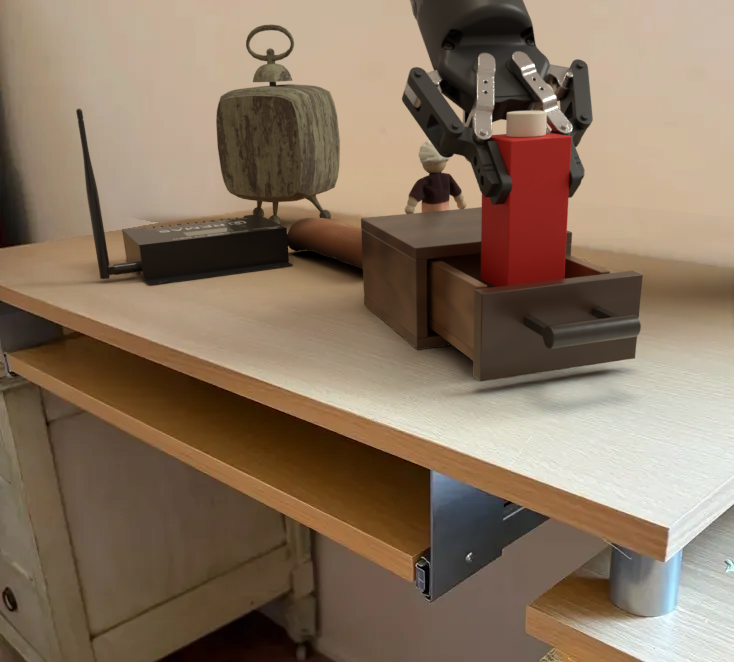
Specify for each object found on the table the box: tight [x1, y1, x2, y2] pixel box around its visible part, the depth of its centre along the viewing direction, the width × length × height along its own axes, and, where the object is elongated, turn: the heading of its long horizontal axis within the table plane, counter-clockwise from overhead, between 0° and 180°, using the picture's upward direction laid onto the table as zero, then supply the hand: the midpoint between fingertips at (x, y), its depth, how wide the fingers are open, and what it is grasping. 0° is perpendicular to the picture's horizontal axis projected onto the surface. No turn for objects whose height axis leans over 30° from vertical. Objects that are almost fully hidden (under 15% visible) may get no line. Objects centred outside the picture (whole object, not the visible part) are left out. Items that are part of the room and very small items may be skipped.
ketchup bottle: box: [481, 111, 572, 287], centre depth 57 cm, size 4×4×12 cm
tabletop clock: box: [215, 24, 341, 225], centre depth 109 cm, size 14×9×25 cm, turn 66°
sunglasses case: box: [287, 217, 363, 270], centre depth 91 cm, size 18×7×7 cm
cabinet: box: [360, 206, 573, 350], centre depth 69 cm, size 14×13×8 cm
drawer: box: [427, 253, 644, 382], centre depth 58 cm, size 17×12×6 cm
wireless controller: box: [75, 108, 294, 286], centre depth 89 cm, size 20×14×17 cm
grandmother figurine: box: [404, 139, 468, 214], centre depth 89 cm, size 8×4×13 cm, turn 132°
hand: (537, 192), depth 55 cm, fingers closed on ketchup bottle, 4 cm apart
